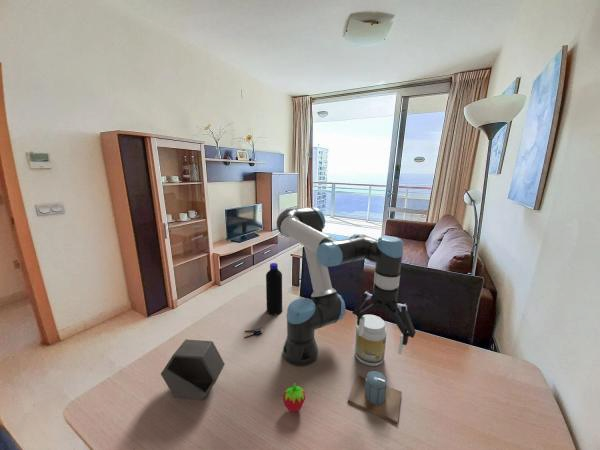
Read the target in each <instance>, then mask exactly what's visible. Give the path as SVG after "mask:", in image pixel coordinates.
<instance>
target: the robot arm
mask: <svg viewBox="0 0 600 450" xmlns="http://www.w3.org/2000/svg"><path fill="white" fill-rule="evenodd" d="M324 215H325V214H324V212H322V211H321V209H320V208H318V207H315V206H314V207H313V206H308V207H302V208H301V207H299V208H288V209H285V210H283V211H282V212H281V213H279V215H278V216H277V218H276V223H275V224H276V228H277V231H278V232H279V233H280V235H282V236H283V237H285V238H289V239H293V240H294V241H296V242H298V243H300V245H302V246H303V247H304V252H305V257H306V262H307V263H306V264H307V267H308V271H309V276H310V281H311V285H312V290H313V291H312V293H311V296H310V298H311V299H310V298H308V297H306V298H303V297H302V298H301V297H300V298H297V299H294V300H293V301H291V302H290V303H289V305H288V307H287V312H286V328H287V329H286V331H287V332H286V333H287V334H286V337H285V338H286V339H285V341H284V344H283V348H282V355H283V357H284V360H285V361H286V362H287V363H288V364H291V365H294V366H299V367H300V366H301V367H303V366H308V365H310V364H313V363H314V362H315V361H316V360H317V358H318V355H319V347H318V344H317V341H316V337H315V330H318V329H321V328H324V327H326V326H329V325H332V324H336V323H337V322H339V321H341V320H342V319H343V318H344V316H345V314H346V304H345V300H344V299H343V297H342V295H340V294H339V293H337V290H336V289H335V288H333V286H332V281H331V278H330V273H329V272H330V271H329V268H328V267H337V266H340V265H342V264H343V265H344V264H347V263H351V262H355V261H356V262H357V261H361V260H366V261H370V262H371V263H374V264H375V267H374V275H373V276H374V277H373V282H374V283H373V287H372V293H370V291H368V290H366V291H365V292H364V293H363V295H362V298H361V300H360V301H359V303H358V304H357V306H355V308H354V309H353V310H352V315H355V316H357V320H356V326H357V325H359V336H361V335H362V334H363V332H364V322H365V316H364V315H368V313H370V312H372V311H373V310H375V309H376V310H377V312H381V313H382V312H383V313H384V314H386V315H387V314H388V315H389V316H390V317H391V318H392V320H393V322H394V323H395V324H396V326H397V328H398V329H399V330H400V332H401V334H400V338H399V344H398V355H402V353H403V351H404V346H407V344H408V342H409V337H410V338H412V339H413V338H414V337H415V335H416V333H417V332H416V329H415V327H414V324H413V322H412V318H411V316H410V313H409V310H408V309H409V307H408V304H407V303H403V304H402V303H399V302H398V296H399V286H400V278H401V268H402V260H403V255H404V242H403V240H402V239H401V238H399V237H397V236H390V235H383V236H382V235H381V236H379V237H378V239H377V238H373V237H371V236H369V235H366V234H361V233H354V234H353V235H352V236H350V237H349V238H346V239H345V238H344V239H340V240H339V239H336V238H333V237H332V236H329V235H327V234H325V233H324V232H323V230H324V229H325V227H326V217H325V216H324ZM369 300H371V302H372V304H370V305H368V306H367V307H366V308H364V309H362V310H361V308H362V307H363V306H364V304H365V303H366V302H367V301H369ZM398 310H399V312H401V316H400V315H399V312H398Z"/></svg>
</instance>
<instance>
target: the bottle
mask: <svg viewBox="0 0 600 450" xmlns="http://www.w3.org/2000/svg"><path fill="white" fill-rule="evenodd" d="M278 267H279V266H278V263H277V262H272V263H269V270H268V271H267V272H266V274H265V286H266V287H265V289H266V291H265V292H266V313H267V312H268V313H269V315H271V314H272V315H271V316H277V315H280V314H281V313H283V273H282V272H281V270H279V269H278ZM268 313H267V314H268ZM279 313H280V314H279ZM276 314H277V315H276Z"/></svg>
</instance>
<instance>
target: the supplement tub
mask: <svg viewBox="0 0 600 450" xmlns="http://www.w3.org/2000/svg"><path fill="white" fill-rule="evenodd" d="M364 316H365V322H364V332H363V334H362V335H361V336H359V325H357V324H356V327H355V328H356V329H355V330H356V331H355V344H354V345H355V347H354V355H355V357H356V359H357V360H358V361H359V362H361V363H362V364H364V365H366V366H370V367H376V366H379V365H382V363H383V362H384V361H385V353H386V342H387V329H386V323H385V321H384V319H382V318H381V317H380V316H379V315H378V316H377V315H374V314H365V315H364Z"/></svg>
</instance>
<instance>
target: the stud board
mask: <svg viewBox="0 0 600 450" xmlns="http://www.w3.org/2000/svg"><path fill="white" fill-rule="evenodd" d="M366 378H367V377H365V376H362V375H360V374H356V375H355V379H354V381H353V384H352V387H351V390H350V392H349V395H348V397H347V403H349V404H351V405H353V406H355V407H357V408H359V409H363V410H365V411H367V412H369V413H371V414H373V415H374V416H375V415H376V416H377V417H380V418H382V419H385V420H387V421H389V422H391V423H394V424H396V425H398V421H399V413H400V404H401V398H402V397H401V396H402V391H400V390H398V389H396V388H393V387H391V386H388V385H387V387H386V396H385V402H384V403H382V404H379V405H376V404H374V403H371V402H370V401H368V399H367V397H366V396H365V386H366Z"/></svg>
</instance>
